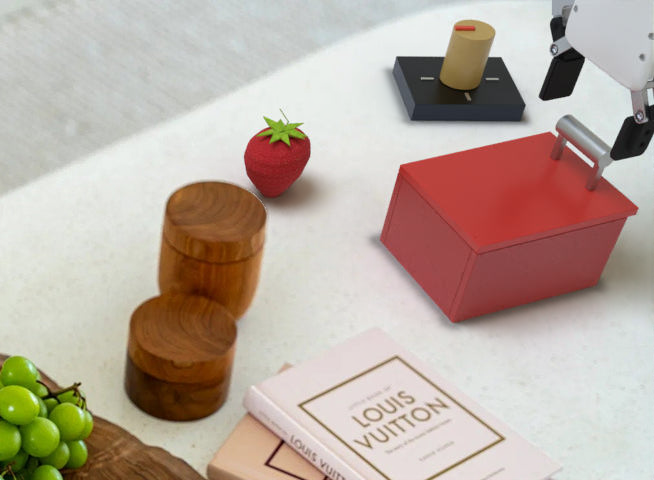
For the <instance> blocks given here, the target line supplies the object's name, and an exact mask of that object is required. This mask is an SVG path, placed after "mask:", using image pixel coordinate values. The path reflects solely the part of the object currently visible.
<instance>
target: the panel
mask: <svg viewBox="0 0 654 480" xmlns="http://www.w3.org/2000/svg"><path fill="white" fill-rule="evenodd" d="M444 58H445V56H431V55H430V56H427V55H425V56H424V55H422V56H420V55H419V56H417V55H415V56H414V55H413V56H412V55H411V56H410V55H408V56H407V55H397V56H395V61H394V64H393V68H392V71H391V72H392V76H393V78H394V80H395V84H396V86H397V89H398V91H399V94H400V96H401V99H402V101H403V105H404V107H405V110H406V112H407V115H408V117H409V120H410V121H411V122H521V121H522V118H523V114H524V112H525V110H526V108H527V107H526V106H527V104H526V102H525V101H524V98H523V96H522V94H521V93H520V91H519V89H518V86H517V85H516V83H515V80H514V79H513V77H512V75H511V73H510V71H509V69H508V67H507V65H506V64H505V62H504V60H503V57H502V56H488V60H487V63H486V66H485V69H484V72H483V75H482V79H481V82H480V84H479V86H478V87H476V88H474V89H470V90H459V89H454V88H451V87H449V86H447V85H445V84H444V83H443V82H442V81H441V80H440V72H441V69H442V65H443V62H444Z"/></svg>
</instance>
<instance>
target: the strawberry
mask: <svg viewBox="0 0 654 480" xmlns="http://www.w3.org/2000/svg"><path fill="white" fill-rule="evenodd" d="M279 111H280V113H281V114H282V115H283V118H285V120H286V121H287V123H286V124H285V123H284V122H283V120H282V119H281V118H280V119H279V120H278V121H275V120H273V119H271V118H269V117H267V116H265V115H263V116H262V118H263V119H264V121H265V123H266V124H267V127H264V128H263V129H261V130H260V131H258V132H257V133H256V134H254V135H253V136H252V137H251V138H250V139H249V141H248V143H247V145H246V147H245V150H244V153H243V161H244V167H245V173H246V176H247V178H249V180H250V182H251V183H252V184H253V186H254V187H255V188H256V190H258V192H259V193H260V194H262V196H263V197H266V198H271V199H272V198H277V197H279V196H281V195H282V194H283V193H284V192H286V191H287V190H288V189H289V188H290V187H291V186H292V185H293V184H295V181H297V180H298V179H299V178H300V177H301V175H302V174H303V172H304V170H305V168H306V167H307V164H308V163H309V161H310V158H311V154H312V150H311V147H312V146H311V145H312V143H311V140H310V138H309V136H308V135H307V134H306V133H305V132H304V131H303V130H302V129H300V128H299V127H300V126H302V125H304V124H305V122H291V123H290V120H289V119H288V117H287V116H286V115H285V113H284V112H283V110H282V109H281V108H279Z"/></svg>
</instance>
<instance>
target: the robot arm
mask: <svg viewBox="0 0 654 480" xmlns="http://www.w3.org/2000/svg"><path fill="white" fill-rule="evenodd" d="M551 16H552V18H551V20H550V21H549V30H550V33H551V38H552V43H551V44H550V46H549V49H548V50H549V55H550V56H551V57H552V59H551V61H550V64H549V67H548V69H547V72H546V75H545V77H544V80H543V81H542V82H543V83H542V85H541V88H540V91H539V93H538V98H539V99H540V100H541V101H543V102H549V101H553V100H557V99H563V98H568V97H570V96H571V95H572V94H573V93H574V90H575V88H576V84H577V82H578V81H579V77H580V75H581V72H582V69H583V67H584V64H585V62H586V59H587V60H588V61H589V62H591V63H592V64H593V65H594V66H595V67H597V68H598V69H600V70H601V71H602V72H604V73H605V74H606V75H608V76H609V77H610V78H611V79H613V80H614V81H615V82H617V83H618V84H619V85H621V86H622V87H624V88H625V89H627V90H629V92H630V99H631V107H632V115H630V116H627V117H626V118H625V119H624V120H623V122H622V125H621V127H620V129H619V132H618V134H617V136H616V138H615V140H614V143H613V145H612V147H611V148H612V149H611V152H610V158H612V159H613V160H614V161H613V162H617V161H622V160H627V159H632V158H636V157H640V156H642V155H644V153H645V152H646V150H647V149H648V148H649V145H650V143H651V141H652V140H653V137H654V103H653V104H651V105H650V101H649V95H648V90H651V89H652V97H653V98H654V0H551Z"/></svg>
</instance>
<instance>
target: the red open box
mask: <svg viewBox="0 0 654 480" xmlns="http://www.w3.org/2000/svg"><path fill="white" fill-rule="evenodd" d="M395 178H396V179H395V182H394V186H393V190H392V192H391V197H390V200H389V204H388V207H387V211H386V215H385V219H384V222H383V226H382V229H381V233H380V237H379V241H380V243H381V244H382V245H383V246H384V247H385V248H386V250H388V252H389V253H391V255H392V256H393V257H394V258H395V259H396V260H397V262H398V263H399V264H400V265H401V266H402V267H403V269H404V270H405V271H406V272H407V273H408V274H409V275H410V276H411V277H412V279H413V280H414V281H415V282H416V283H417V284H418V285H419V287H420V288H421V289H422V290H423V291H424V292H425V294H426V295H427V296H428V297H429V298H430V299H431V300H432V302H433V303H434V304H435V305H436V306H437V308H439V309H440V310H441V312H442V313H443V314H444V315H445V316H446V317H447V318H448V320H449V321H450V322H451V323H452V324H455V323H458V322H463V321H466V320H470V319H474V318H477V317H481V316H485V315H486V316H487V315H489V314H493V313H496V312H501V311H504V310H508V309H512V308H515V307H520V306H524V305H527V304H532V303H535V302H539V301H542V300H547V299H550V298H554V297H557V296H562V295H565V294H569V293H572V292H576V291H580V290H585V289H588V288H591V287H595V286H597V284H598V283H599V280H600V278H601V276H602V274H603V272H604V270H605V267H606V265H607V263H608V261H609V259H610V257H611V255H612V252H613V250H614V249H615V246H616V243H617V242H618V239H619V238H620V236H621V234H622V231H623V230H624V227H625V225H626V222H627V220H628V218H629V217H625V218H621V219H617V220H613V221H609V222H605V223H601V224H597V225H593V226H589V227H585V228H581V229H577V230H573V231H569V232H565V233H561V234H557V235H553V236H549V237H545V238H541V239H537V240H532V241H528V242H524V243H520V244H516V245H512V246H508V247H504V248H500V249H496V250H492V251H488V252H484V253H480V254H477V253H476V252H475V251H474V250H473V249H472V248H471V247H470V246H469V245H468V244H467V242H466V241H465V240H464V239H463V238H462V237H461V236H460V235H459V234H458V233H457V232H456V231H455V230H454V229H453V228H452V227H451V226H450V225H449V224H448V223H447V222H446V221H445V220H444V219H443V218H442V217H441V215H440V214H439V213H438V212H437V211H436V210H435V209H434V208H433V207H432V206H431V205H430V204H429V203H428V202H427V201H426V200H425V199H424V198H423V197H422V196H421V195H420V194H419V193H418V192H417V191H416V189H415V188H414V187H413V186H412V185H411V184H410V183H409V182H408V181H407V180H406V179H405V178H404V177H403V176H402V175H401V174H400V173H399V172H397V175H396V177H395Z"/></svg>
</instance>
